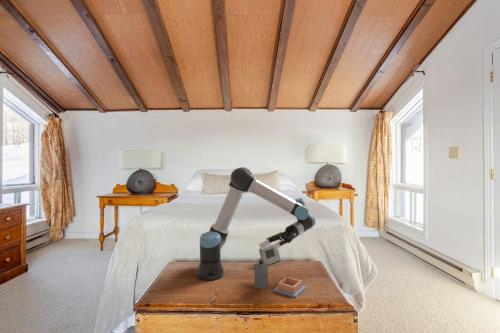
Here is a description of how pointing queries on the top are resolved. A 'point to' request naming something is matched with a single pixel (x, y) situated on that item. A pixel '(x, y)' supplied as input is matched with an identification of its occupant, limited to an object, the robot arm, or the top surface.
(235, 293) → the top surface
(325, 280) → the top surface
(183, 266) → the top surface
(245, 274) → the top surface
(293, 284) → the end holder
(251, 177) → the robot arm
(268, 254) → the digital clock
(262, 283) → the bottle
